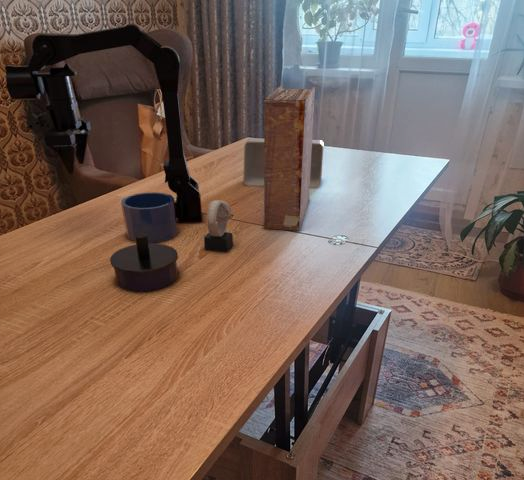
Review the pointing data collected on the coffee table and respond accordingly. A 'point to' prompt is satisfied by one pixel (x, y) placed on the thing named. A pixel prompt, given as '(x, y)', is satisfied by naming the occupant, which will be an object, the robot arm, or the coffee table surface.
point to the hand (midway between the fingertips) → (76, 168)
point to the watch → (218, 227)
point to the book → (287, 156)
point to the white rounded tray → (255, 162)
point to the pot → (150, 216)
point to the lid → (143, 256)
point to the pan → (147, 279)
